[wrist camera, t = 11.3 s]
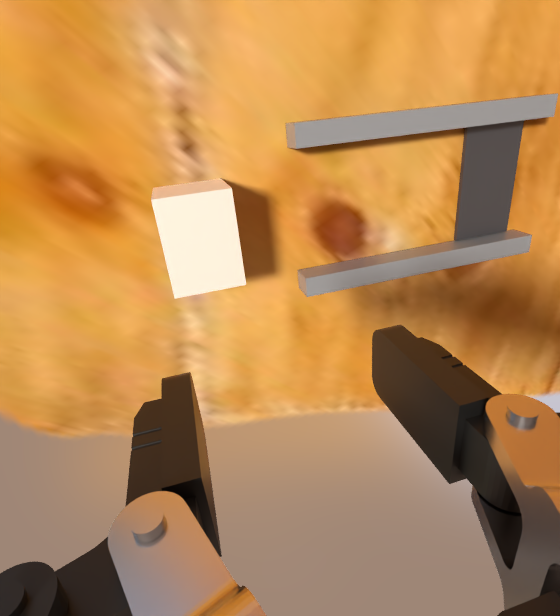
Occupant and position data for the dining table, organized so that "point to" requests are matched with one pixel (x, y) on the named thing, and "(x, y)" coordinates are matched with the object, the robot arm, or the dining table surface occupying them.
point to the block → (199, 236)
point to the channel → (472, 188)
